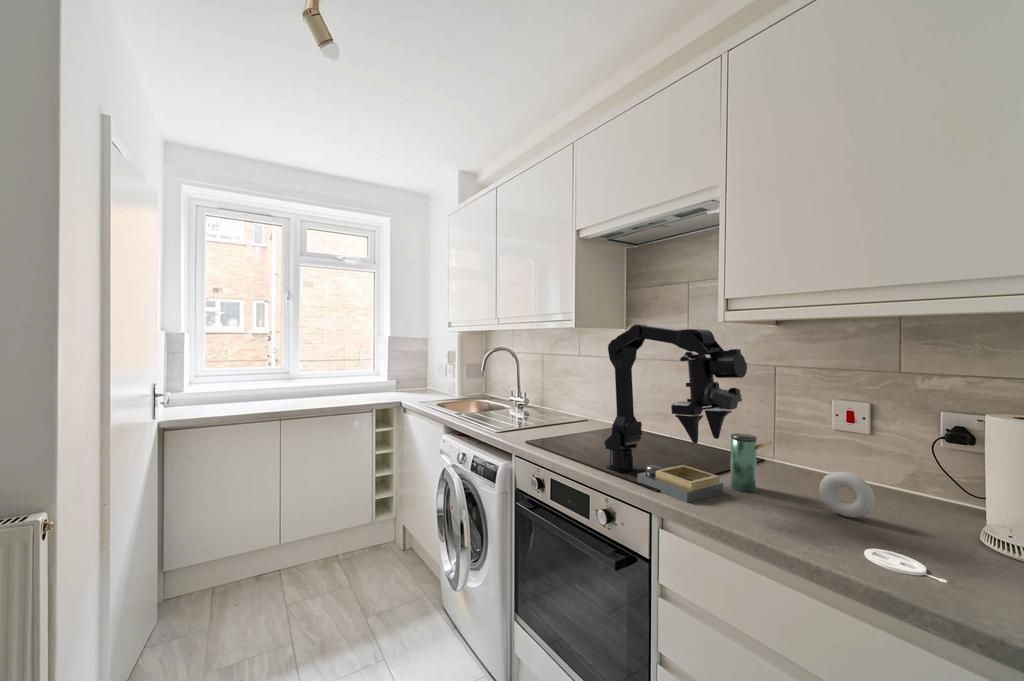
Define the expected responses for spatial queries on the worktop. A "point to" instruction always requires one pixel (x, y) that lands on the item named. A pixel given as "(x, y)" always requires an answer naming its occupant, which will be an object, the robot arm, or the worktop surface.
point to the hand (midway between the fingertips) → (706, 440)
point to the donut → (856, 484)
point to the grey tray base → (681, 482)
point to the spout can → (744, 461)
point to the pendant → (897, 562)
